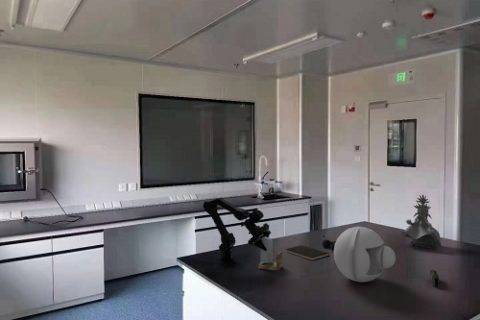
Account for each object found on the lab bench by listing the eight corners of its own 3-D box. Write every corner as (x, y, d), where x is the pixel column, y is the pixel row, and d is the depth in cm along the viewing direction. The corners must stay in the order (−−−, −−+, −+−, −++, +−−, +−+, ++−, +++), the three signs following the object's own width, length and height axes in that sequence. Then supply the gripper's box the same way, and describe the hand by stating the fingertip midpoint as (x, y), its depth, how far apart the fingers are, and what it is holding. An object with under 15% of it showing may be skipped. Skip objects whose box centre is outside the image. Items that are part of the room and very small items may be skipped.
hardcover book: (311, 261, 217) (311, 257, 217) (285, 252, 235) (285, 248, 235) (328, 256, 226) (328, 252, 226) (302, 248, 245) (302, 244, 245)
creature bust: (442, 244, 248) (443, 194, 246) (440, 253, 228) (441, 198, 227) (405, 239, 261) (405, 192, 259) (400, 247, 241) (400, 196, 240)
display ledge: (258, 268, 204) (258, 252, 203) (262, 263, 211) (262, 248, 211) (278, 270, 199) (278, 254, 199) (282, 266, 207) (282, 250, 206)
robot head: (390, 297, 163) (390, 237, 162) (326, 284, 179) (326, 230, 178) (399, 277, 187) (400, 225, 186) (342, 267, 203) (342, 219, 202)
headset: (317, 233, 243) (340, 233, 251) (316, 246, 243) (339, 246, 251) (330, 237, 232) (353, 237, 239) (328, 252, 231) (351, 251, 239)
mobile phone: (429, 268, 187) (434, 278, 173) (435, 269, 186) (441, 279, 172) (429, 278, 187) (434, 288, 173) (435, 279, 186) (441, 289, 172)
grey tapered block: (260, 261, 205) (260, 239, 204) (265, 258, 210) (265, 237, 209) (268, 263, 202) (268, 240, 202) (272, 260, 207) (272, 238, 206)
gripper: (252, 222, 199) (269, 244, 194) (268, 216, 215) (284, 237, 209) (240, 234, 204) (257, 256, 198) (257, 227, 219) (273, 248, 214)
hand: (268, 249), depth 205 cm, fingers closed on grey tapered block, 5 cm apart
